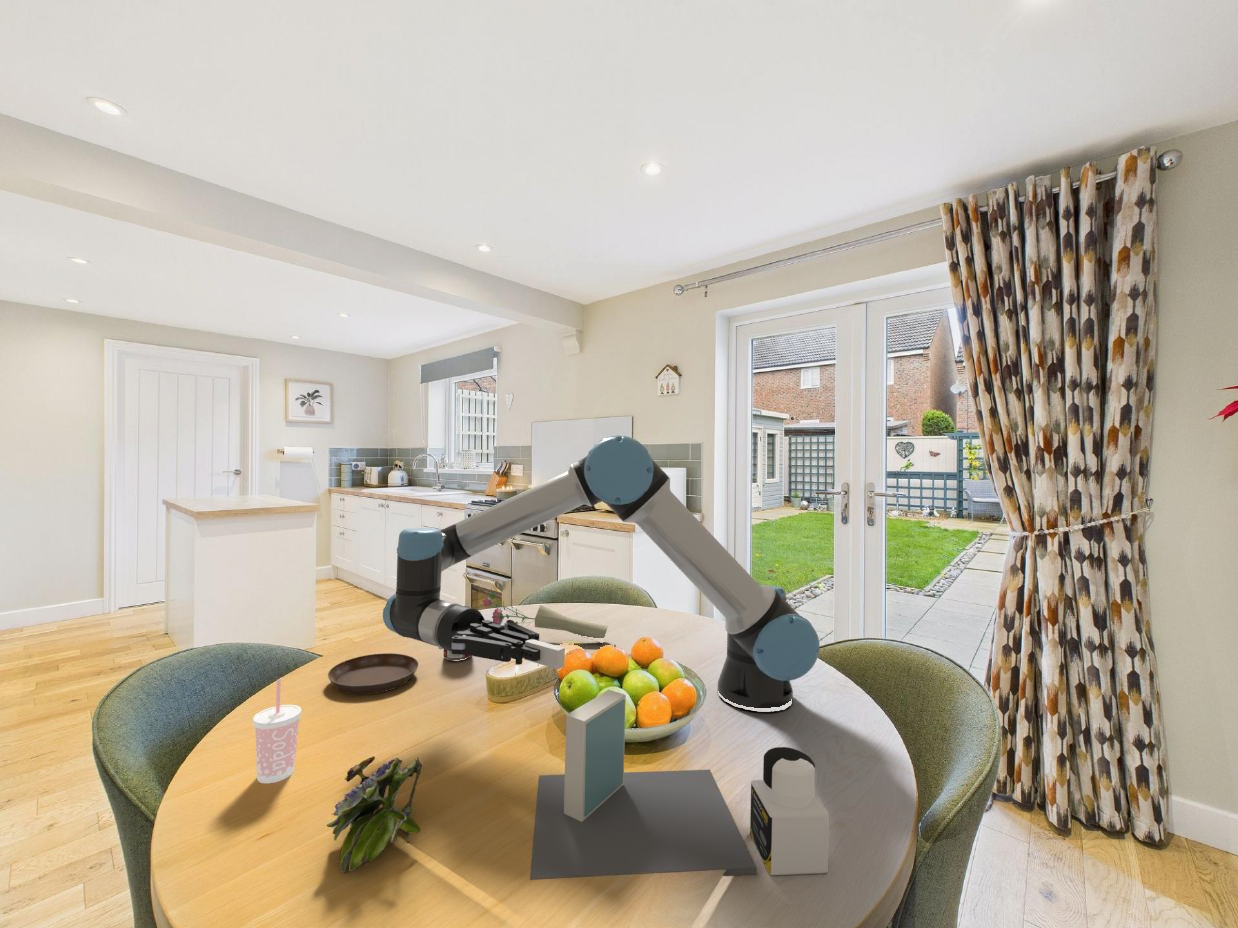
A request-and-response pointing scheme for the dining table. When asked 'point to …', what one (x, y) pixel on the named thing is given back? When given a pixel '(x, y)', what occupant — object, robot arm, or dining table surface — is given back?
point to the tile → (594, 753)
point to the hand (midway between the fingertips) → (561, 658)
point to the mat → (639, 829)
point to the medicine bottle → (789, 815)
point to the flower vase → (551, 621)
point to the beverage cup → (276, 740)
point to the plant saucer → (373, 673)
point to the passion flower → (373, 811)
